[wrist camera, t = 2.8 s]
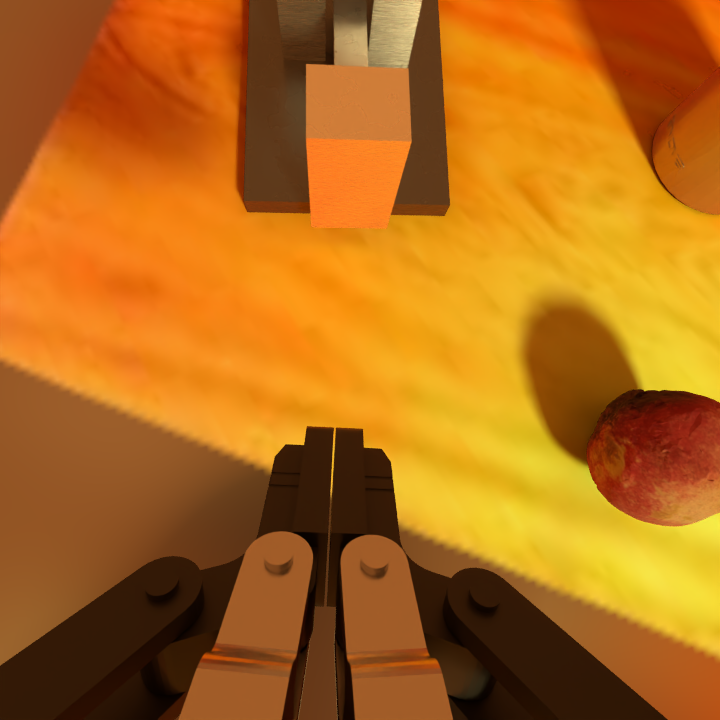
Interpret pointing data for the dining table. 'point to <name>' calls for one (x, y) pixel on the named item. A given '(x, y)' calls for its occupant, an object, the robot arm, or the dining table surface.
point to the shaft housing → (288, 98)
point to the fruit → (659, 456)
